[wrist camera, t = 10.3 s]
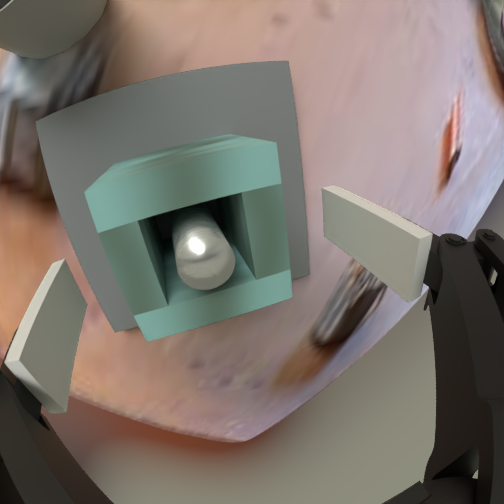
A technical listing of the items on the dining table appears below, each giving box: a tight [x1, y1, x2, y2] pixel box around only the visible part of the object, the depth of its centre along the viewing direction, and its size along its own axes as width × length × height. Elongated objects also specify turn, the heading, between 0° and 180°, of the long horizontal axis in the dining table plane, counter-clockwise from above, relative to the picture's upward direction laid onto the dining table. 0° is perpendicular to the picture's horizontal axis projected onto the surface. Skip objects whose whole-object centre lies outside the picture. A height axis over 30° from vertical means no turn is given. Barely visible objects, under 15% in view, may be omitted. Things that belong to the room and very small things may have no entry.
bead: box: [84, 134, 293, 342], centre depth 16 cm, size 8×8×8 cm
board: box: [36, 61, 310, 332], centre depth 20 cm, size 18×18×2 cm
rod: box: [169, 202, 235, 290], centre depth 15 cm, size 2×2×9 cm
